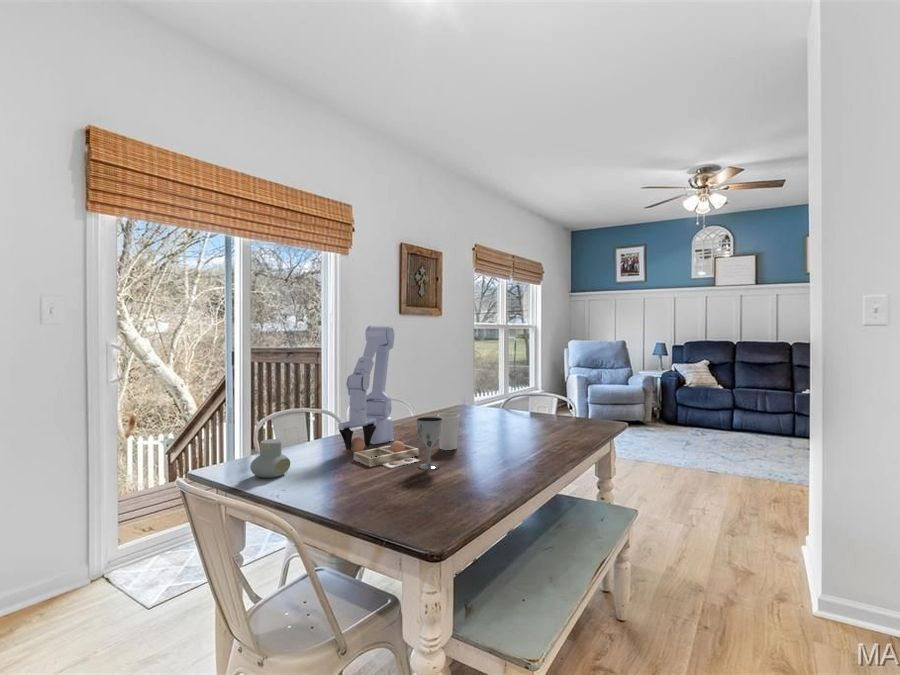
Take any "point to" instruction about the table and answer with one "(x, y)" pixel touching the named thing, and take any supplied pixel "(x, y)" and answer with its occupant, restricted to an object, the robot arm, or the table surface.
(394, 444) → the ball
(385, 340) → the robot arm
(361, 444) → the loose ball
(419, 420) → the wine glass
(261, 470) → the air freshener
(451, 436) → the cup
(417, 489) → the table surface
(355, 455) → the rack
